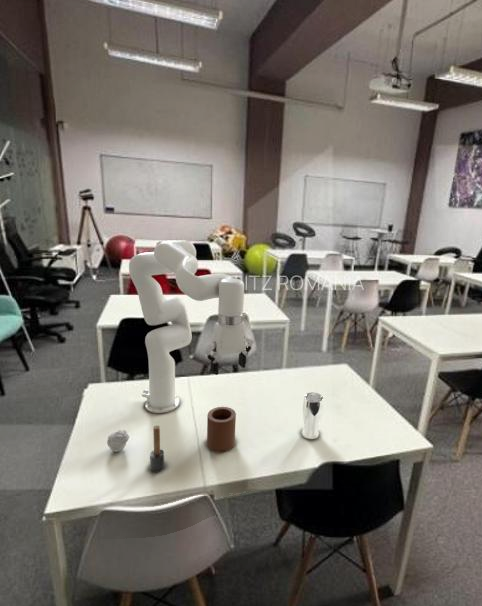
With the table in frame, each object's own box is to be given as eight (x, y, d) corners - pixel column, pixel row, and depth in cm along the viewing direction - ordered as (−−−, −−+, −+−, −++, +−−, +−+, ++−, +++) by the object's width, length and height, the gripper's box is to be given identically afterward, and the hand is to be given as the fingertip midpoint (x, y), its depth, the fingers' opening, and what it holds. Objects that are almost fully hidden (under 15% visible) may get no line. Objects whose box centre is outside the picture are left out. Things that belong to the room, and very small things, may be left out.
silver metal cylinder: (321, 431, 139) (325, 394, 136) (316, 442, 133) (320, 404, 129) (303, 426, 141) (307, 390, 138) (298, 437, 135) (301, 399, 131)
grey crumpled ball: (121, 458, 118) (120, 439, 116) (102, 453, 119) (101, 434, 118) (134, 447, 123) (133, 428, 122) (116, 442, 125) (115, 423, 123)
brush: (147, 470, 114) (146, 429, 110) (155, 461, 118) (155, 422, 114) (158, 473, 113) (158, 432, 109) (166, 465, 116) (166, 425, 113)
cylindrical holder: (201, 447, 126) (202, 418, 123) (215, 432, 134) (216, 404, 132) (226, 454, 123) (227, 425, 120) (239, 438, 132) (240, 410, 129)
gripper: (248, 311, 124) (245, 359, 129) (198, 319, 114) (198, 371, 118) (260, 318, 119) (257, 368, 123) (210, 326, 108) (209, 381, 112)
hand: (228, 369), depth 120 cm, fingers open, 9 cm apart
